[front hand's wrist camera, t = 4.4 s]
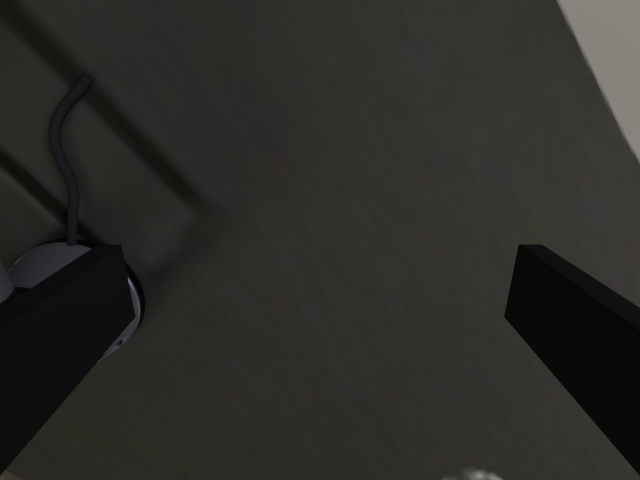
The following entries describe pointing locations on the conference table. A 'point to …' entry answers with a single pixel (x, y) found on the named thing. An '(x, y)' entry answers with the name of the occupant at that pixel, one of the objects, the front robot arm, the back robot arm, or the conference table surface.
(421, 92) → the conference table surface
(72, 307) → the front robot arm
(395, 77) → the conference table surface
